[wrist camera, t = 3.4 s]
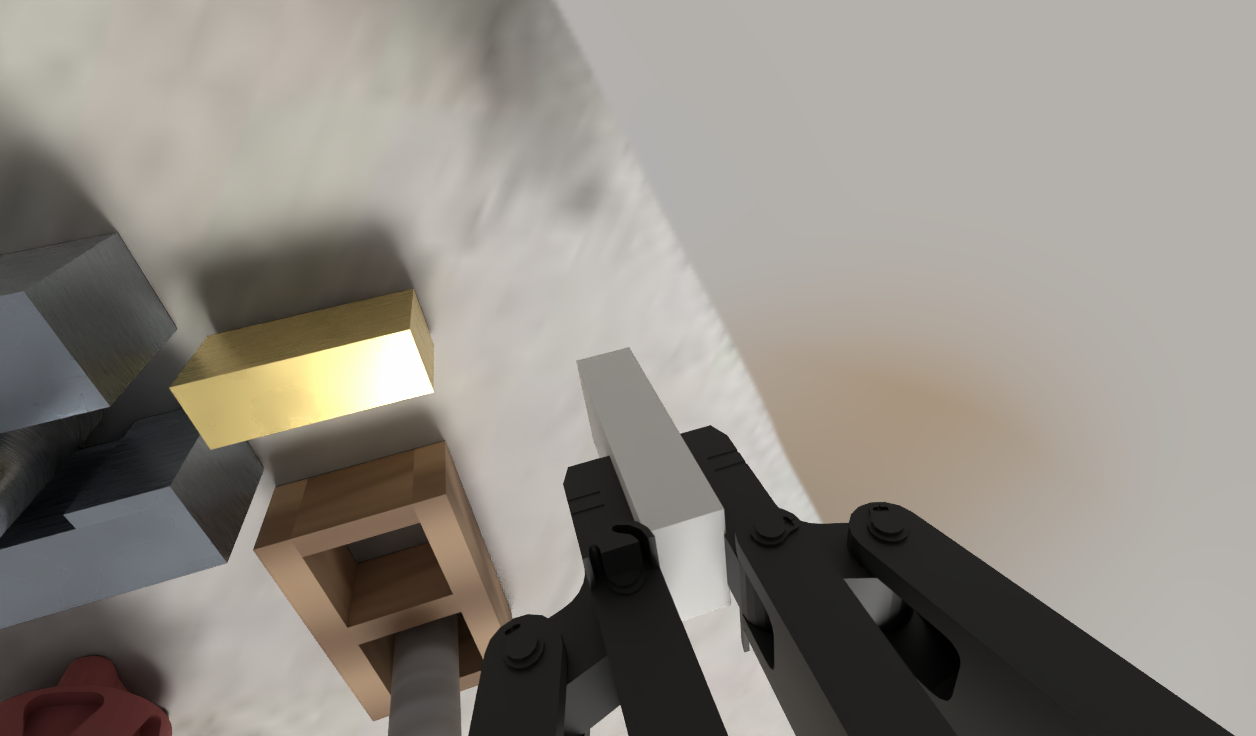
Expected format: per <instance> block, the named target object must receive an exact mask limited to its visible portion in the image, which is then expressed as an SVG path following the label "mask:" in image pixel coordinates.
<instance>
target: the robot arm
mask: <svg viewBox="0 0 1256 736" xmlns="http://www.w3.org/2000/svg"><path fill="white" fill-rule="evenodd" d="M576 362H577V366H578V371H579V375H580V380H581V385H582V389H583V394H584V399H585V403H586V408H587V413H588V417H589V422H590V426H591V431H592V436H593V440H594V443H595V446H596V448H597V451H598V454H599V457H600V458H599V459H595V460H592V461H588V462H585V463H581V464H578V465H574V466H571V467H568V470H567V473H566V476H565V480H564V483H563V485H564V489H565V493H566V497H567V501H568V505H569V509H570V512H571V516H572V520H573V524H574V528H575V532H576V536H577V539H578V543H579V547H580V551H581V555H582V560H583V564H584V568H585V578H584V583H583V585H582V587H581V589H580V591H579V593H578V594H577V596H576V597H575V598H574V599H573V601H572V602H570V603H569V604H568V605H567V606H566V607H564V608H563V609H562V610H560V611H559V612H557V613H556V614H554V615H553V616H551V617H550V618H546V617H544V616H542V615H531V614H527V615H524V616H520V617H517V618H514V619H512V620H510V621H509V622H507V623H506V624H504V625H503V626H501V627H500V628H499V629H498V630H497V632H496V633H495V634H494V635H493V636H492V638H491V639H490V641H489V643H488V646H487V648H486V651H485V653H484V659H483V664H482V669H481V674H480V679H479V684H478V689H477V694H476V700H475V705H474V710H473V715H472V720H471V725H470V730H469V735H468V736H590V728H591V727H593V726H594V725H595V724H596V723H598V722H599V721H600V720H602V719H603V718H604V717H605V716H607V715H608V714H609V713H610V712H612V711H613V710H614V709H615V708H617V707H618V706H619V705H621V708H622V712H623V716H624V720H625V724H626V727H627V731H628V735H629V736H728V734H727V732H726V729H725V727H724V724H723V722H722V719H721V717H720V714H719V712H718V710H717V707H716V705H715V702H714V700H713V697H712V695H711V692H710V690H709V687H708V685H707V682H706V680H705V677H704V675H703V672H702V670H701V668H700V665H699V663H698V660H697V658H696V655H695V653H694V650H693V648H692V645H691V643H690V640H689V638H688V635H687V633H686V630H685V628H684V626H683V623H682V621H685V620H688V619H691V618H694V617H697V616H700V615H703V614H706V613H709V612H712V611H715V610H718V609H721V608H724V607H727V606H730V605H731V596H730V590H731V592H732V594H733V596H734V598H735V600H736V601H737V603H738V605H739V607H740V623H741V639H742V645H743V649H744V652H747V651H750V650H749V642H750V644H751V646H752V648H753V650H754V652H755V654H756V656H757V658H758V660H759V662H760V664H761V666H762V668H763V670H764V672H765V674H766V677H767V679H768V681H769V683H770V685H771V687H772V689H773V691H774V693H775V695H776V697H777V699H778V701H779V703H780V705H781V707H782V709H783V711H784V713H785V715H786V717H787V719H788V721H789V723H790V725H791V727H792V729H793V731H794V733H795V735H796V736H1234V735H1233V734H1231V733H1230V732H1228V731H1227V730H1226V729H1224V728H1223V727H1221V726H1220V725H1218V724H1217V723H1216V722H1214V721H1212V720H1211V719H1210V718H1208V717H1207V716H1205V715H1204V714H1203V713H1201V712H1200V711H1198V710H1197V709H1195V708H1194V707H1193V706H1191V705H1190V704H1188V703H1187V702H1185V701H1184V700H1182V699H1181V698H1180V697H1178V696H1177V695H1175V694H1174V693H1172V692H1171V691H1169V690H1168V689H1167V688H1165V687H1164V686H1162V685H1161V684H1159V683H1158V682H1156V681H1155V680H1154V679H1152V678H1151V677H1149V676H1148V675H1146V674H1145V673H1144V672H1142V671H1141V670H1139V669H1138V668H1136V667H1135V666H1133V665H1132V664H1131V663H1129V662H1128V661H1126V660H1125V659H1123V658H1122V657H1120V656H1119V655H1118V654H1116V653H1115V652H1113V651H1112V650H1110V649H1109V648H1107V647H1106V646H1104V645H1103V644H1102V643H1100V642H1099V641H1097V640H1096V639H1094V638H1093V637H1092V636H1090V635H1089V634H1087V633H1086V632H1084V631H1083V630H1082V629H1080V628H1079V627H1077V626H1076V625H1074V624H1073V623H1071V622H1070V621H1069V620H1067V619H1066V618H1064V617H1063V616H1061V615H1060V614H1058V613H1057V612H1056V611H1054V610H1053V609H1051V608H1050V607H1048V606H1047V605H1046V604H1044V603H1043V602H1041V601H1040V600H1038V599H1037V598H1035V597H1034V596H1033V595H1031V594H1029V593H1028V592H1027V591H1025V590H1024V589H1022V588H1021V587H1020V586H1018V585H1017V584H1015V583H1014V582H1012V581H1011V580H1009V579H1008V578H1007V577H1005V576H1004V575H1002V574H1001V573H999V572H998V571H996V570H995V569H994V568H992V567H991V566H989V565H988V564H986V563H985V562H984V561H982V560H981V559H979V558H978V557H976V556H975V555H973V554H972V553H970V552H969V551H968V550H966V549H965V548H963V547H962V546H960V545H959V544H957V543H956V542H955V541H953V540H952V539H950V538H949V537H947V536H946V535H945V534H943V533H942V532H940V531H939V530H937V529H936V528H935V527H933V526H932V525H930V524H929V523H927V522H926V521H924V520H923V519H922V518H920V517H918V516H917V515H916V514H914V513H913V512H911V511H909V510H907V509H905V508H903V507H901V506H899V505H895V504H890V503H886V502H873V503H868V504H865V505H862V506H860V507H858V508H857V509H856V510H855V511H854V512H853V513H852V514H851V517H850V521H849V523H833V524H815V523H807V522H803V521H800V520H799V519H798V518H797V517H796V516H795V515H794V514H792V513H790V512H788V511H786V510H784V509H781V508H779V507H778V506H777V505H776V504H775V503H774V501H773V500H772V498H771V497H770V496H769V494H768V493H767V491H766V490H765V489H764V487H763V486H762V484H761V483H760V481H759V480H758V479H757V477H756V476H755V474H754V473H753V471H752V470H751V469H750V467H749V466H748V464H746V463H745V460H744V459H743V457H742V456H741V454H740V453H739V452H737V449H736V447H735V446H734V444H733V443H732V442H731V440H730V439H729V437H728V436H727V435H726V434H724V433H722V432H721V431H719V430H717V429H716V428H714V427H712V426H711V425H710V426H706V427H703V428H699V429H696V430H692V431H689V432H685V433H682V434H680V433H679V431H678V430H677V428H676V426H675V424H674V423H673V421H672V419H671V418H670V416H669V414H668V413H667V411H666V409H665V407H664V406H663V404H662V402H661V401H660V399H659V397H658V396H657V394H656V392H655V390H654V389H653V387H652V385H651V384H650V382H649V380H648V379H647V377H646V375H645V373H644V372H643V370H642V368H641V367H640V365H639V363H638V361H637V360H636V358H635V356H634V355H633V353H632V351H631V350H630V348H625V349H621V350H617V351H613V352H609V353H605V354H601V355H597V356H593V357H590V358H586V359H582V360H578V361H576Z"/></svg>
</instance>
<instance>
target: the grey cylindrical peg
mask: <svg viewBox="0 0 1256 736" xmlns="http://www.w3.org/2000/svg"><path fill="white" fill-rule="evenodd" d="M102 415H103V408H102V409H98V410H94V411H90V412H86V413H82V414H78V415H74V416H69V417H65V418H61V419H57V420H53V421H49V422H45V423H41V424H36V425H32V426H28V427H24V428H20V429H16V430H12V431H8V432H3V433H0V537H1V536H2V535H3V534H4V533H5V532H6V530H7V529H8V528H9V527H10V526H11V525H12V523H13V522H14V521H15V520H16V519H17V518H18V516H19V515H20V514H21V513H22V512H23V511H24V510H25V508H26V507H27V506H28V505H29V504H30V503H31V501H32V500H33V499H34V498H35V497H36V496H37V494H38V493H39V492H40V491H41V490H42V489H43V487H44V486H45V485H46V484H47V483H48V482H49V481H50V479H51V478H52V477H53V476H54V475H55V474H56V472H57V471H58V470H59V469H60V468H61V467H62V465H63V464H64V463H65V462H66V461H67V460H68V458H69V457H70V456H71V455H72V454H73V453H74V451H75V450H76V449H77V448H78V447H79V446H80V445H81V443H82V442H83V441H84V440H85V439H86V438H87V436H88V435H89V434H90V433H91V432H92V431H93V429H94V428H95V427H96V426H97V425H98V424H99V422H100V420H101V418H102Z"/></svg>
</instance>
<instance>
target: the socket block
mask: <svg viewBox="0 0 1256 736" xmlns="http://www.w3.org/2000/svg"><path fill="white" fill-rule="evenodd" d="M176 330H177V328H176V326H175V325H174V323H173V322H172V320H171V318H170V317H169V315H168V313H167V312H166V310H165V309H164V307H163V305H162V304H161V302H160V301H159V299H158V297H157V296H156V294H155V292H154V291H153V289H152V288H151V286H150V284H149V283H148V281H147V280H146V278H145V276H144V275H143V273H142V271H141V270H140V268H139V267H138V265H137V263H136V262H135V260H134V259H133V257H132V255H131V254H130V252H129V250H128V249H127V247H126V246H125V244H124V242H123V241H122V239H121V238H120V236H119V234H118V233H117V232H115V233H110V234H105V235H100V236H95V237H90V238H85V239H80V240H75V241H70V242H65V243H60V244H55V245H50V246H45V247H40V248H35V249H30V250H25V251H20V252H15V253H10V254H5V255H0V433H3V432H8V431H12V430H16V429H20V428H24V427H28V426H32V425H36V424H41V423H45V422H49V421H53V420H57V419H61V418H65V417H69V416H74V415H78V414H82V413H86V412H90V411H94V410H98V409H102V408H107V407H110V406H111V405H112V404H113V403H114V401H115V400H116V399H117V398H118V397H119V396H120V395H121V393H122V392H123V391H124V390H125V389H126V388H127V386H128V385H129V384H130V383H131V382H132V381H133V380H134V378H135V377H136V376H137V375H138V374H139V373H140V372H141V370H142V369H143V368H144V367H145V366H146V365H147V364H148V362H149V361H150V360H151V359H152V358H153V357H154V355H155V354H156V353H157V352H158V351H159V350H160V349H161V347H162V346H163V345H164V344H165V343H166V342H167V341H168V339H169V338H170V337H171V336H172V335H173V334H174V332H175V331H176ZM263 471H264V468H263V467H262V465H261V464H260V462H259V460H258V459H257V457H256V455H255V454H254V452H253V451H252V449H251V447H250V446H249V444H248V443H247V441H243V442H239V443H235V444H231V445H227V446H224V447H220V448H216V449H212V450H210V448H209V447H208V445H207V444H206V442H205V441H204V439H203V438H202V436H201V435H200V433H199V432H198V430H197V429H196V427H195V426H194V424H193V423H192V421H191V420H190V418H189V417H188V415H187V414H186V412H185V411H184V409H180V410H176V411H172V412H168V413H164V414H160V415H156V416H152V417H148V418H144V419H140V420H136V421H135V423H134V424H133V425H132V426H131V428H130V429H129V430H128V432H127V433H126V434H125V435H124V437H123V438H122V439H120V440H116V441H112V442H108V443H104V444H100V445H96V446H93V447H89V448H85V449H81V450H77V451H74V453H73V454H72V455H71V456H70V457H69V458H68V460H67V461H66V462H65V463H64V464H63V465H62V467H61V468H60V469H59V470H58V471H57V472H56V474H55V475H54V476H53V477H52V478H51V479H50V481H49V482H48V483H47V484H46V485H45V486H44V487H43V489H42V490H41V491H40V492H39V493H38V494H37V496H36V497H35V498H34V499H33V500H32V501H31V503H30V504H29V505H28V506H27V507H26V508H25V510H24V511H23V512H22V513H21V514H20V515H19V516H18V518H17V519H16V520H15V521H14V522H13V523H12V525H11V526H10V527H9V528H8V529H7V530H6V532H5V533H4V534H3V535H2V536H1V537H0V629H2V628H6V627H9V626H13V625H16V624H19V623H23V622H26V621H30V620H33V619H37V618H40V617H44V616H47V615H50V614H54V613H57V612H61V611H64V610H68V609H71V608H74V607H78V606H81V605H85V604H88V603H92V602H95V601H99V600H102V599H105V598H109V597H112V596H116V595H119V594H123V593H126V592H130V591H133V590H136V589H140V588H143V587H147V586H150V585H154V584H157V583H160V582H164V581H167V580H171V579H174V578H178V577H181V576H185V575H188V574H191V573H195V572H198V571H202V570H205V569H209V568H212V567H216V566H219V565H222V564H226V563H227V562H228V560H229V557H230V555H231V552H232V550H233V547H234V544H235V542H236V539H237V537H238V534H239V532H240V529H241V527H242V524H243V522H244V519H245V517H246V514H247V512H248V509H249V506H250V504H251V501H252V499H253V496H254V494H255V491H256V489H257V486H258V484H259V481H260V479H261V476H262V474H263Z"/></svg>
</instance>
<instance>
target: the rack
mask: <svg viewBox="0 0 1256 736" xmlns="http://www.w3.org/2000/svg"><path fill="white" fill-rule="evenodd" d="M417 523H421V526H422V528H423V530H424V532H425V534H426V536H427V539H428V541H429V543H425V544H422V545H419V546H415V547H412V548H409V549H405V550H402V551H399V552H395V553H392V554H389V555H385V556H382V557H379V558H375V559H372V560H369V561H365V562H362V563H359V564H357V563H356V561H355V560H354V558H353V556H352V554H351V553H350V551H349V549H348V547H347V546H346V544H349V543H353V542H356V541H359V540H363V539H366V538H370V537H373V536H376V535H380V534H383V533H387V532H390V531H393V530H397V529H400V528H403V527H407V526H410V525H414V524H417ZM253 551H254V552H255V553H256V555H257V556H258V558H259V559H260V561H261V562H262V563H263V565H264V566H265V568H266V569H267V571H268V572H269V573H270V575H271V576H272V578H273V579H274V581H275V582H276V583H277V585H278V586H279V588H280V589H281V591H282V592H283V593H284V595H285V596H286V598H287V599H288V601H289V602H290V603H291V605H292V606H293V608H294V609H295V611H296V612H297V613H298V615H299V616H300V618H301V619H302V621H303V622H304V623H305V625H306V626H307V628H308V629H309V631H310V632H311V633H312V635H313V636H314V638H315V639H316V641H317V642H318V643H319V645H320V646H321V648H322V649H323V650H324V652H325V653H326V655H327V656H328V658H329V659H330V660H331V662H332V663H333V665H334V666H335V668H336V669H337V670H338V672H339V673H340V675H341V676H342V678H343V679H344V680H345V682H346V683H347V685H348V686H349V688H350V689H351V690H352V692H353V693H354V695H355V696H356V698H357V699H358V700H359V702H360V703H361V705H362V706H363V708H364V709H365V710H366V712H367V713H368V715H369V716H370V718H371V719H372V720H373V721H376V720H379V719H381V718H384V717H387V716H389V729H388V736H461V708H460V691H463V690H466V689H468V688H471V687H474V686H477V685H478V684H479V679H480V674H481V669H482V664H483V659H484V653H485V651H486V648H487V646H488V643H489V641H490V639H491V638H492V636H493V635H494V634H495V633H496V632H497V630H498V629H499V628H500V627H501V626H503V625H504V624H506V623H507V622H509V621H510V620H512V613H511V610H510V607H509V605H508V602H507V599H506V597H505V594H504V592H503V589H502V586H501V584H500V581H499V579H498V576H497V574H496V571H495V568H494V566H493V563H492V561H491V558H490V556H489V553H488V550H487V548H486V545H485V543H484V540H483V538H482V535H481V532H480V530H479V527H478V525H477V522H476V519H475V517H474V514H473V512H472V509H471V507H470V504H469V501H468V499H467V496H466V494H465V491H464V489H463V486H462V483H461V481H460V478H459V476H458V473H457V470H456V468H455V465H454V463H453V460H452V458H451V455H450V452H449V450H448V447H447V445H446V442H445V441H443V442H439V443H435V444H432V445H428V446H425V447H421V448H417V449H414V450H410V451H406V452H403V453H399V454H395V455H392V456H388V457H384V458H381V459H377V460H374V461H370V462H366V463H363V464H359V465H355V466H352V467H348V468H344V469H341V470H337V471H333V472H330V473H326V474H323V475H319V476H315V477H312V478H308V479H304V480H301V481H297V482H293V483H290V484H286V485H282V486H279V487H275V490H274V493H273V495H272V498H271V501H270V504H269V507H268V509H267V512H266V515H265V518H264V521H263V524H262V526H261V529H260V532H259V535H258V538H257V540H256V543H255V546H254V549H253ZM459 612H462V615H461V616H458V617H457V613H459Z"/></svg>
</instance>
